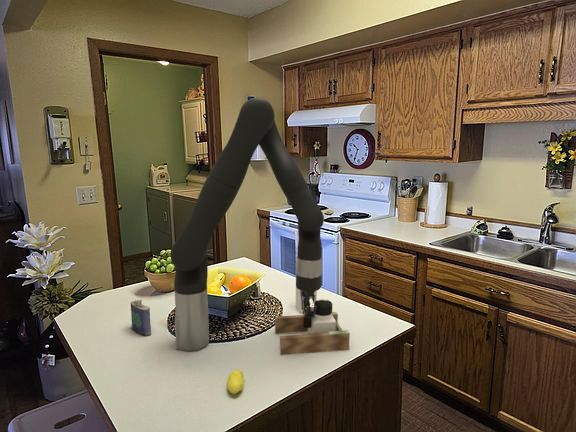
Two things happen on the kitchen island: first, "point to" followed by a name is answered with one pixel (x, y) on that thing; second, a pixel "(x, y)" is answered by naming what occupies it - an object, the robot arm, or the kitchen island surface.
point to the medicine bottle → (322, 318)
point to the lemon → (235, 381)
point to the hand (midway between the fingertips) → (307, 326)
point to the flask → (140, 318)
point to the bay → (309, 337)
